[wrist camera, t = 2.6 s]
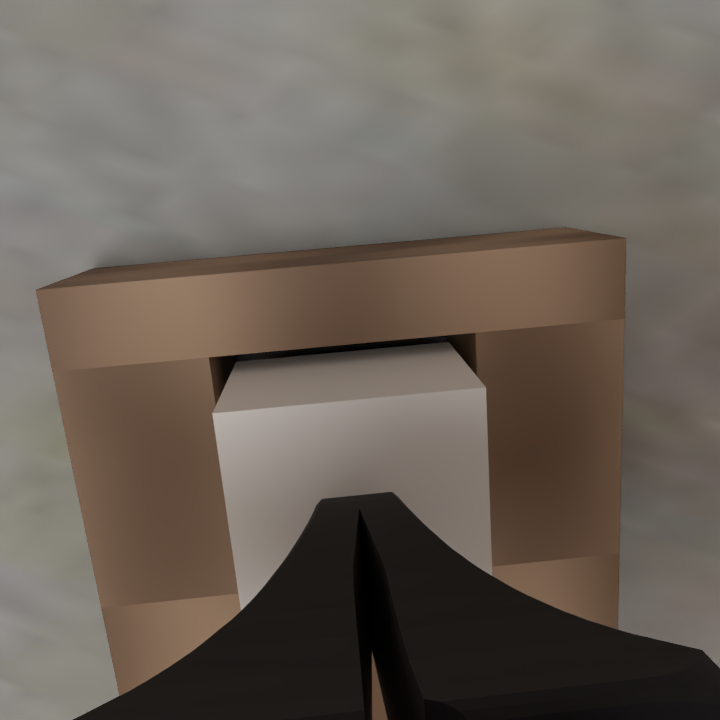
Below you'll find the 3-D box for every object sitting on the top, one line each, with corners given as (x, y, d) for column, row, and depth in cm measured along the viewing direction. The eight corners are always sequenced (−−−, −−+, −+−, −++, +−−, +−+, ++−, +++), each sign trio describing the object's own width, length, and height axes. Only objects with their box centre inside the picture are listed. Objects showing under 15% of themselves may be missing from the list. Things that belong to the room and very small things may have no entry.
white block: (448, 341, 15) (486, 387, 12) (457, 532, 16) (493, 622, 13) (236, 361, 15) (212, 413, 12) (261, 552, 16) (246, 649, 13)
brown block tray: (565, 227, 17) (626, 238, 14) (566, 812, 22) (611, 926, 19) (92, 268, 17) (35, 290, 13) (200, 856, 22) (178, 981, 18)
